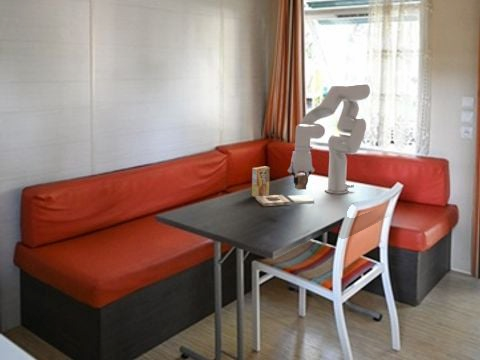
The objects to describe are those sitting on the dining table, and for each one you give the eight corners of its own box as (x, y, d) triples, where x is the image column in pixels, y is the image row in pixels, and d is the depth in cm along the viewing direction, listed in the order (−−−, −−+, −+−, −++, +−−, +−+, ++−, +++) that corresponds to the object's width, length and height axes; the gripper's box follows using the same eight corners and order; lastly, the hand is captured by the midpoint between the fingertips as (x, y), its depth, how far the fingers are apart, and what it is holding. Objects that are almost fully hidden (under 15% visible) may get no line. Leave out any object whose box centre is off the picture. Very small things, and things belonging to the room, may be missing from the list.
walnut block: (303, 187, 281) (303, 174, 279) (306, 189, 276) (306, 175, 275) (294, 187, 280) (295, 174, 278) (297, 189, 275) (298, 176, 274)
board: (305, 196, 287) (305, 194, 286) (314, 202, 275) (314, 200, 275) (287, 197, 284) (287, 195, 284) (295, 203, 273) (295, 201, 273)
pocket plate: (281, 197, 284) (281, 194, 284) (290, 204, 271) (290, 201, 271) (255, 199, 281) (255, 196, 281) (263, 206, 268) (263, 203, 267)
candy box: (264, 193, 292) (264, 165, 288) (269, 195, 289) (269, 167, 285) (251, 196, 286) (251, 167, 283) (256, 197, 283) (257, 169, 280)
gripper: (315, 147, 279) (313, 182, 283) (284, 148, 275) (282, 183, 279) (320, 149, 272) (318, 185, 276) (289, 150, 268) (287, 186, 272)
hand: (300, 183), depth 278 cm, fingers closed on walnut block, 4 cm apart
